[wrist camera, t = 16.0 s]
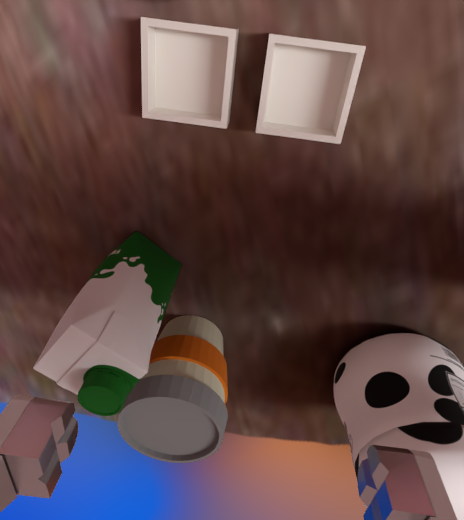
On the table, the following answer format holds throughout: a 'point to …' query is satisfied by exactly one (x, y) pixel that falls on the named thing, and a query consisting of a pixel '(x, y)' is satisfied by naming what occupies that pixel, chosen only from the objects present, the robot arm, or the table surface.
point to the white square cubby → (187, 71)
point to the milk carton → (112, 326)
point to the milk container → (405, 402)
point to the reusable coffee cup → (179, 395)
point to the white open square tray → (308, 87)
